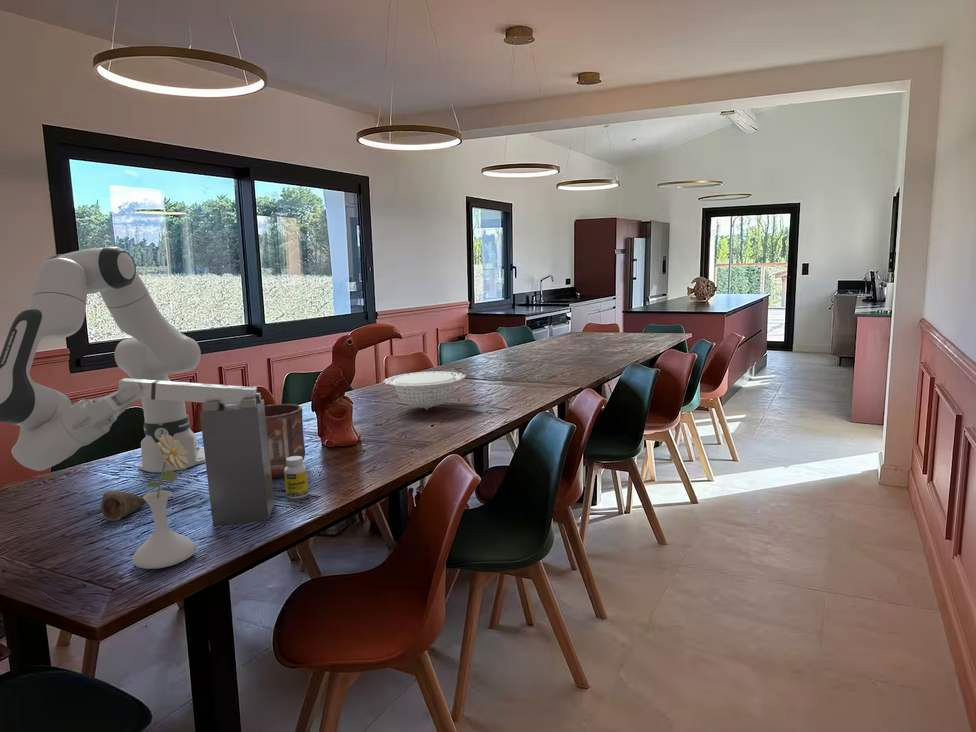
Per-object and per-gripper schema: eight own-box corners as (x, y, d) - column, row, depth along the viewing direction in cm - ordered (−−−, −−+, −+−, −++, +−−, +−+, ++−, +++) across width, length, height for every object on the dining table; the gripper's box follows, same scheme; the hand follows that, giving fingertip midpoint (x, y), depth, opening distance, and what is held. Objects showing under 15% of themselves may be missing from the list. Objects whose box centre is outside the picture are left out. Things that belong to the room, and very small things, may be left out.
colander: (368, 413, 256) (366, 381, 254) (426, 398, 279) (424, 368, 277) (426, 423, 235) (424, 388, 233) (484, 406, 259) (482, 374, 257)
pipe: (117, 481, 169) (76, 487, 161) (155, 490, 160) (113, 496, 152) (116, 506, 169) (75, 513, 161) (154, 516, 160) (112, 524, 152)
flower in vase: (163, 578, 123) (146, 448, 119) (119, 570, 127) (102, 445, 124) (215, 549, 135) (201, 430, 131) (173, 543, 139) (159, 428, 136)
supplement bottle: (286, 500, 162) (282, 462, 161) (286, 493, 167) (282, 456, 166) (309, 497, 164) (305, 459, 162) (308, 490, 169) (305, 453, 167)
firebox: (220, 510, 157) (207, 396, 153) (274, 504, 160) (262, 392, 155) (211, 526, 148) (197, 405, 143) (268, 520, 150) (256, 400, 146)
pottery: (243, 468, 191) (237, 407, 188) (306, 460, 196) (300, 401, 193) (240, 486, 174) (233, 420, 172) (309, 477, 180) (303, 413, 177)
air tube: (124, 394, 147) (124, 377, 146) (255, 402, 152) (256, 387, 152) (118, 397, 143) (118, 380, 143) (253, 405, 149) (254, 389, 148)
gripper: (57, 418, 134) (117, 380, 135) (96, 399, 153) (148, 366, 155) (78, 443, 135) (137, 405, 136) (114, 421, 155) (165, 388, 156)
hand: (143, 384), depth 145 cm, fingers closed on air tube, 4 cm apart
